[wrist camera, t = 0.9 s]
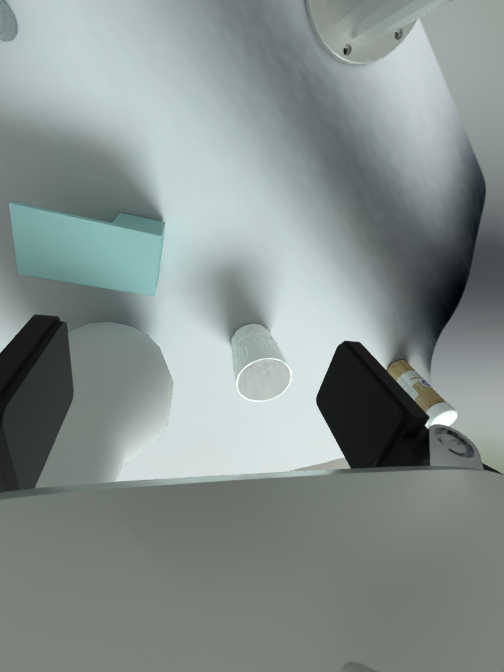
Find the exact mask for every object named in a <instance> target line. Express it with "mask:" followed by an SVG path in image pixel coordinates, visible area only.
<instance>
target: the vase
mask: <svg viewBox="0 0 504 672" xmlns="http://www.w3.org/2000/svg"><path fill="white" fill-rule="evenodd" d="M68 339H69V348H70V358H71V368H72V378H73V387H74V395H73V400H72V403H71V405H70V408H69V410H68V412H67V414H66V417H65V419H64V421H63V424H62V426H61V428H60V431H59V433H58V435H57V438H56V440H55V442H54V445H53V447H52V449H51V452H50V454H49V456H48V459H47V461H46V463H45V466H44V468H43V470H42V473H41V475H40V477H39V480H38V482H37V484H36V486H35V488H42V487H53V486H67V485H80V484H94V483H107V482H117V480H118V477H119V474H120V471H121V468H122V466H123V464H124V463H125V462H127V461H128V460H130V459H132V458H133V457H135V456H136V455H138V454H140V453H141V452H143V451H144V450H146V449H147V448H148V447H150V446H151V445H152V444H154V443H155V442H156V441H158V440H159V439H160V437H161V435H162V434H163V432H164V431H165V429H166V427H167V426H168V421H169V415H170V408H171V401H172V392H173V380H172V377H171V375H170V372H169V370H168V367H167V365H166V362H165V360H164V357H163V355H162V352H161V350H160V347H159V346H158V345H157V344H156V343H155V342H154V341H153V340H152V339H151V338H150V337H149V336H148V335H147V334H145V333H143V332H141V331H139V330H137V329H135V328H134V327H132V326H128V325H124V324H119V323H114V322H97V323H88V324H86V325H83V326H81V327H78V328H75V329H73V330H71V331H69V332H68Z"/></svg>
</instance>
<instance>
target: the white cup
mask: <svg viewBox="0 0 504 672" xmlns="http://www.w3.org/2000/svg"><path fill="white" fill-rule="evenodd" d="M231 348H232V360H233V369H234V376H235V383H236V388H237V391H238V393H239V394H240V395H241V396H242V397H244V398H245V399H247V400H250V401H255V402H263V401H268V400H271V399H274V398H276V397H278V396H279V395H281V394H282V393H283V392H284V391H285V390H286V389H287V388H288V387H289V385H290V383H291V380H292V371H291V369H290V367H289V365H288V363H287V361H286V359H285V357H284V356H283V354H282V352H281V350H280V348H279V347H278V345H277V343H276V342H275V340H274V339H273V338H272V336H271V334H270V332H269V330H268V329H266V328H265V327H264V326H262V325H259V324H248V325H244V326H242V327H241V328H239V329H238V330H237V331H236V332H235V333H234V335H233V337H232V340H231Z"/></svg>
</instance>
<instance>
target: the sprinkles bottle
mask: <svg viewBox="0 0 504 672" xmlns="http://www.w3.org/2000/svg"><path fill="white" fill-rule="evenodd" d="M387 372H388V373H389V374H390V375H391V376H392V377H393V378H394V379H395V380H396V381H397V382H398V384H399V385H400V386H401V387H402V388H403V389H404V390H405V391H406V392H407V393H408V394H409V395H410V396H411V397H412V399H413V400H414V401H415V402H416V403H417V404H418V405H419V406H420V407H421V408H422V409H423V410H424V411H425V412H426V414H427V415H428V416H429V417H430V418H429V420H428V421H427V422H428V423H429V424H430V425H431V426H432V425H434V424H441V425H445V426H449V425H450V424H451V423H453V422H454V421H455V419H456V418H457V411H456V410H455V409H454V408H453V407H452V406H451V405H450V404H449V403H447V402H446V401H444V400H443V399H442V398H441V397H440V396H439V395H438V393H436V392H435V391H434V390H433V388H432V387H431V386H430V385H429V384H428V383H427V382H426V381H425V380H424V379H423V378H422V377H421V376H420V375H419V374H418V373H417V372H416V371H415V370H414V369H413V368H412V367H411V366H410V365H409V363H408V362H407V361H405V360H398V361H396V362H394V363H393V364H391V365H390V367H389V368H388V371H387Z"/></svg>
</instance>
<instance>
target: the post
mask: <svg viewBox="0 0 504 672" xmlns="http://www.w3.org/2000/svg"><path fill="white" fill-rule="evenodd" d="M17 30H18V26H17V21H16V18H15V16H14V13H13V12H12V10H11V9H10V7H9V6H8V5H7V4H6V3H5V2H4V1H3V0H0V40H1V41H5V42H6V41H11V40H13V39H14V38H15V37H16V35H17Z"/></svg>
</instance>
